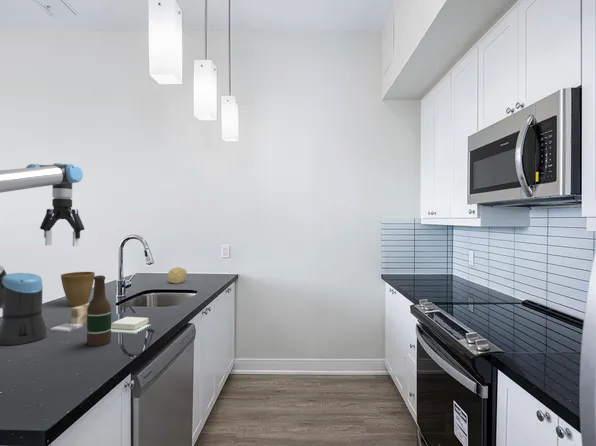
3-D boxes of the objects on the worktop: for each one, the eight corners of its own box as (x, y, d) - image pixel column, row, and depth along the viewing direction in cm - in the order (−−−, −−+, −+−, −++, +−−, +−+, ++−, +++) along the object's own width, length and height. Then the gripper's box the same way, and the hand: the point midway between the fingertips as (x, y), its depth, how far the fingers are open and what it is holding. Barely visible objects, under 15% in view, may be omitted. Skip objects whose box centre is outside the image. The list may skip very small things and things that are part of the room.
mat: (135, 334, 143) (135, 332, 143) (102, 332, 145) (102, 330, 145) (150, 326, 154) (150, 324, 154) (119, 324, 156) (119, 322, 156)
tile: (148, 323, 156) (134, 330, 146) (126, 322, 157) (111, 328, 147) (148, 317, 156) (134, 324, 146) (126, 316, 157) (111, 323, 147)
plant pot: (83, 300, 198) (83, 270, 198) (100, 304, 191) (101, 273, 191) (53, 306, 185) (54, 274, 185) (71, 310, 178) (71, 276, 178)
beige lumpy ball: (175, 285, 248) (176, 269, 248) (163, 283, 254) (164, 267, 254) (189, 282, 258) (189, 267, 257) (177, 280, 264) (177, 265, 264)
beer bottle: (83, 347, 128) (84, 278, 128) (89, 340, 135) (90, 274, 135) (108, 345, 130) (109, 277, 130) (113, 338, 138) (113, 274, 137)
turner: (68, 332, 145) (68, 314, 145) (49, 330, 146) (50, 313, 146) (102, 318, 164) (102, 302, 164) (86, 317, 166) (86, 301, 166)
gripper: (93, 199, 168) (93, 245, 169) (44, 198, 172) (44, 244, 172) (81, 198, 161) (81, 247, 161) (30, 197, 165) (30, 245, 165)
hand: (62, 245), depth 167 cm, fingers open, 13 cm apart
